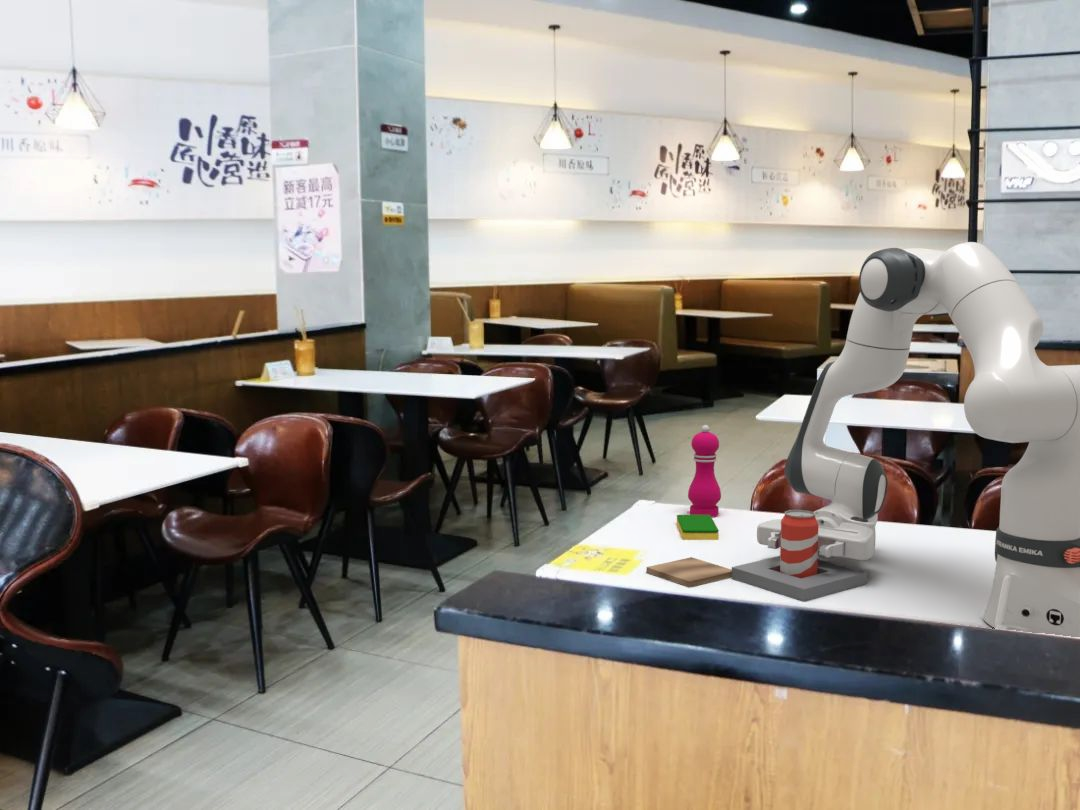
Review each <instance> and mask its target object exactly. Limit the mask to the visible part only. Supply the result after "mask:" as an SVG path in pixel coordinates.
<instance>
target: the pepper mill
mask: <svg viewBox="0 0 1080 810" xmlns="http://www.w3.org/2000/svg"><path fill="white" fill-rule="evenodd" d="M710 430H711V429H710V426H709V425H707V424H704V425H702V426H701V431H700V432H698V433H696V434H694V436H693V437H692V439H691V448H692V450H693V452H694V453H693V462H694V461H695V462H694V463H695V474H694V476H693V478H692V482H691V483H690V485H689V487H688V492H687V494H688V495H687V498H688V500H689V501H690V503H691V505H690V506H689V515H710V516H711V517H712V518H715V517H718V516H719V513H720V511H719V510H720V509H719V508H720V507H719V506H718V505H717V504H718V503H719V501H721V498H722V491H721V487H720V485H719V482H718V479H717V478H716V476H715V462H717V454H716V453H717V451H718V450H719V447H720V441H719V438H718V437H717V435H716V434H714V433H712V432H710Z"/></svg>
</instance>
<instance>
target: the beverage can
mask: <svg viewBox="0 0 1080 810" xmlns="http://www.w3.org/2000/svg"><path fill="white" fill-rule="evenodd" d="M781 519H782V520H781V547H779V549H780V551H779V554H780V555H779V556H780V572H781V573H784V574H787V575H791V576H794V577H798V578H805V577H809V576H813V575H817V560H819V559H818V557H819V556H818V526H819V524H818V522H817V520H816V518H815V513H814V511H810V510H803V509H789V510H786V511H784V515H783V517H782V518H781Z"/></svg>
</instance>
